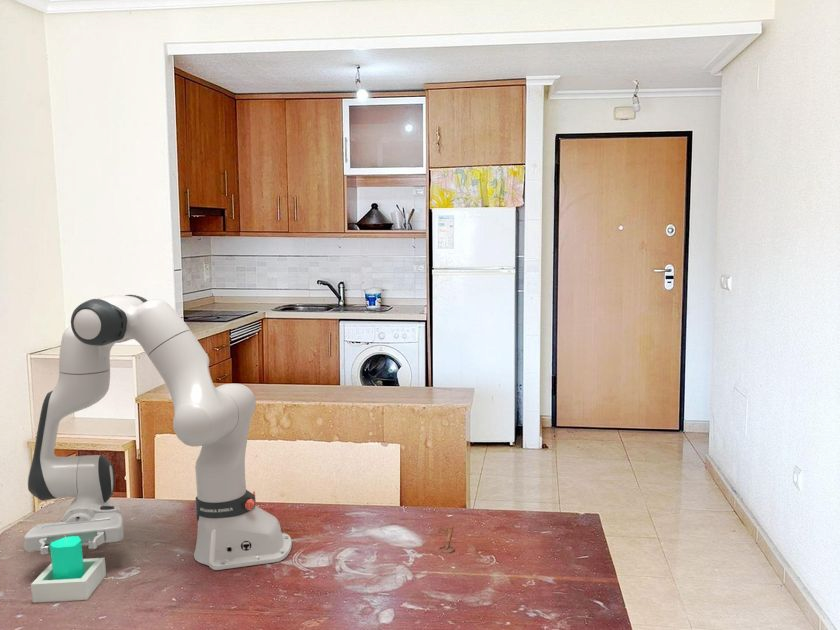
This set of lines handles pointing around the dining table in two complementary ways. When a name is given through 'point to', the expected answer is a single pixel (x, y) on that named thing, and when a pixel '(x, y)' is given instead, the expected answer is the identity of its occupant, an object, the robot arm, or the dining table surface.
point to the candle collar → (69, 583)
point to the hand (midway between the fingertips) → (68, 548)
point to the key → (447, 538)
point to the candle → (67, 558)
